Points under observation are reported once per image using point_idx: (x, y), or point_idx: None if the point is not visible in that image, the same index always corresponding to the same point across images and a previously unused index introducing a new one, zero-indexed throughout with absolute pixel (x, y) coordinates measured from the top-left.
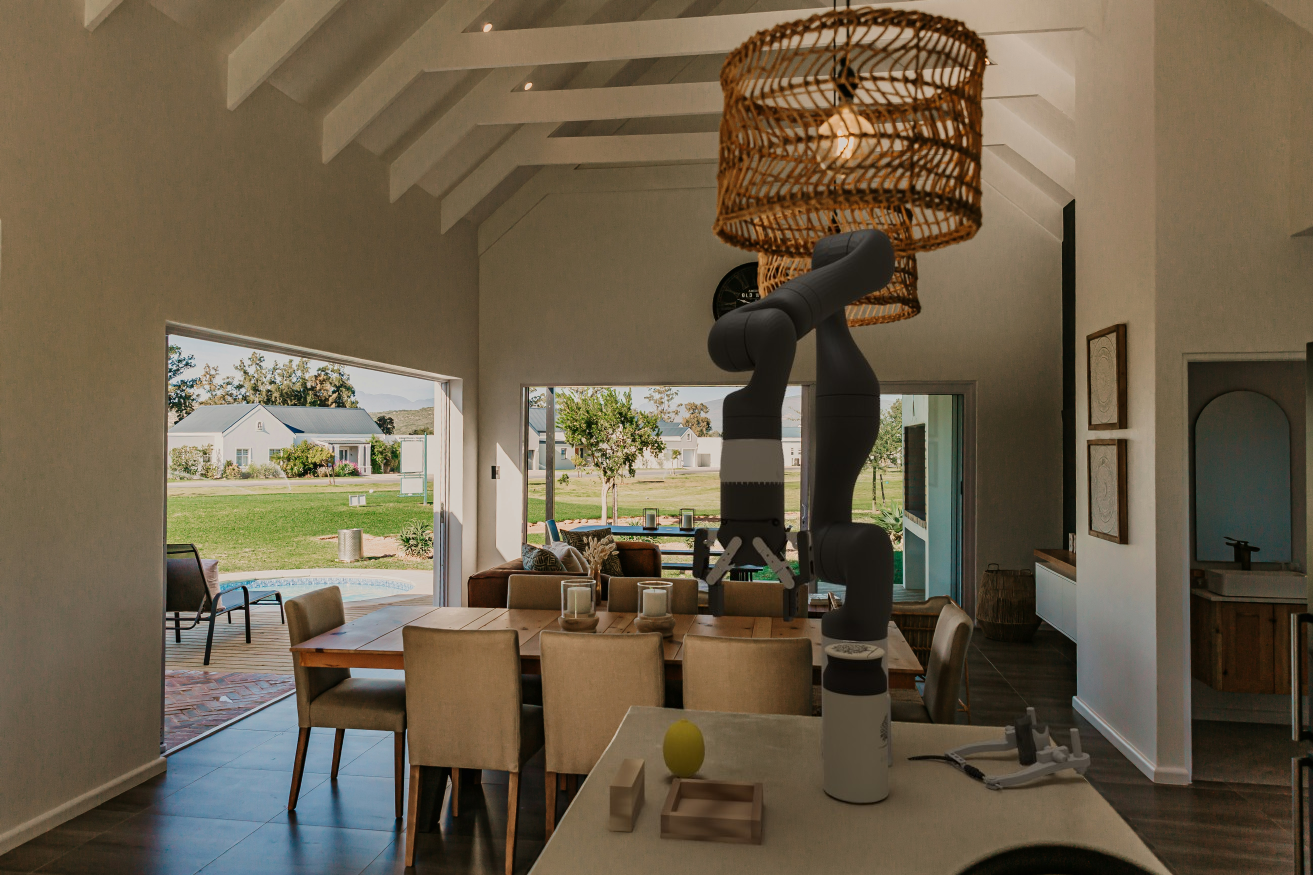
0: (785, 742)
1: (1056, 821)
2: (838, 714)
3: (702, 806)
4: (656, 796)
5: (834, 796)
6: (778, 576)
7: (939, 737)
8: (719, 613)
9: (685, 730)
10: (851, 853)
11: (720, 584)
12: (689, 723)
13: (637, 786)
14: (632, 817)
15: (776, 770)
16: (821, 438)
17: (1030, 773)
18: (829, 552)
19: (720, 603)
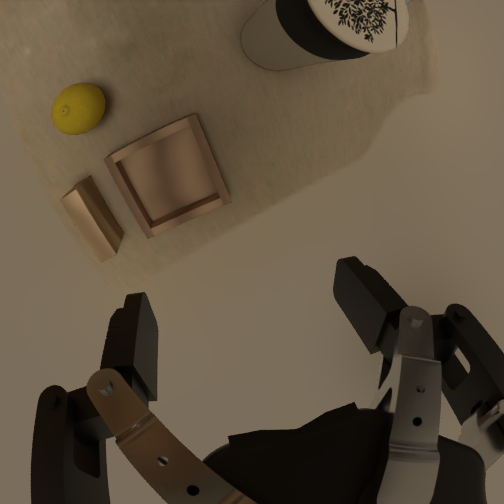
0: None
1: (418, 61)
2: (301, 58)
3: (148, 163)
4: (92, 159)
5: (260, 66)
6: (376, 388)
7: None
8: (154, 324)
9: (77, 122)
10: (300, 171)
11: (138, 382)
12: (73, 109)
13: (101, 221)
14: (119, 234)
15: (172, 21)
16: None
17: (408, 1)
18: None
19: (150, 339)
